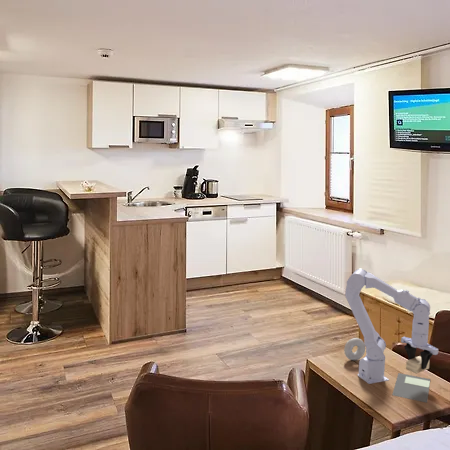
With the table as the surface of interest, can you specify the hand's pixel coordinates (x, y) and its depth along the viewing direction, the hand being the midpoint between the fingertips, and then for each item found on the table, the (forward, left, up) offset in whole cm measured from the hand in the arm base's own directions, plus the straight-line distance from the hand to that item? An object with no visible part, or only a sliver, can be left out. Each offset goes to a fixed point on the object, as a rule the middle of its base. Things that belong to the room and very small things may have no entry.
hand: (417, 365), depth 182 cm
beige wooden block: (0, 0, -1) cm, 1 cm away
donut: (-9, +28, -9) cm, 31 cm away
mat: (-2, 0, -8) cm, 9 cm away
